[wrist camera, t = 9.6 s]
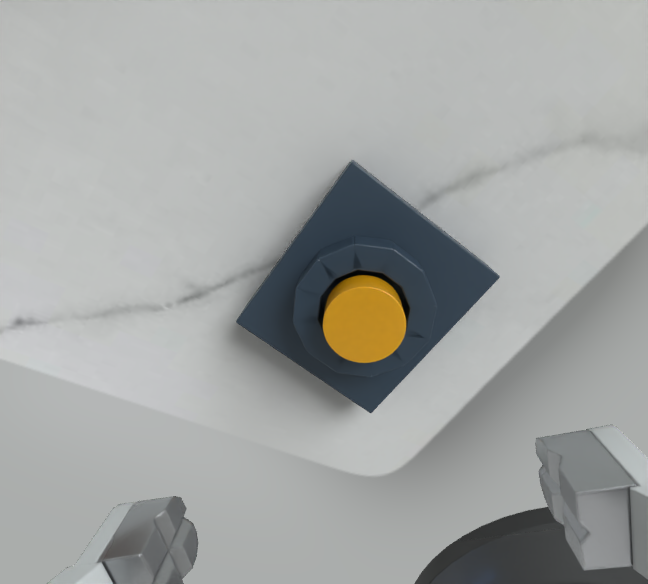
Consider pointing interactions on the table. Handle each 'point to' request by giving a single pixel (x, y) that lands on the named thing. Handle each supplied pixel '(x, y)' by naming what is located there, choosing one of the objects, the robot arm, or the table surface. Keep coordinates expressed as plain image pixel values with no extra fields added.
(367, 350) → the trigger button
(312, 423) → the table surface
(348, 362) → the button housing
